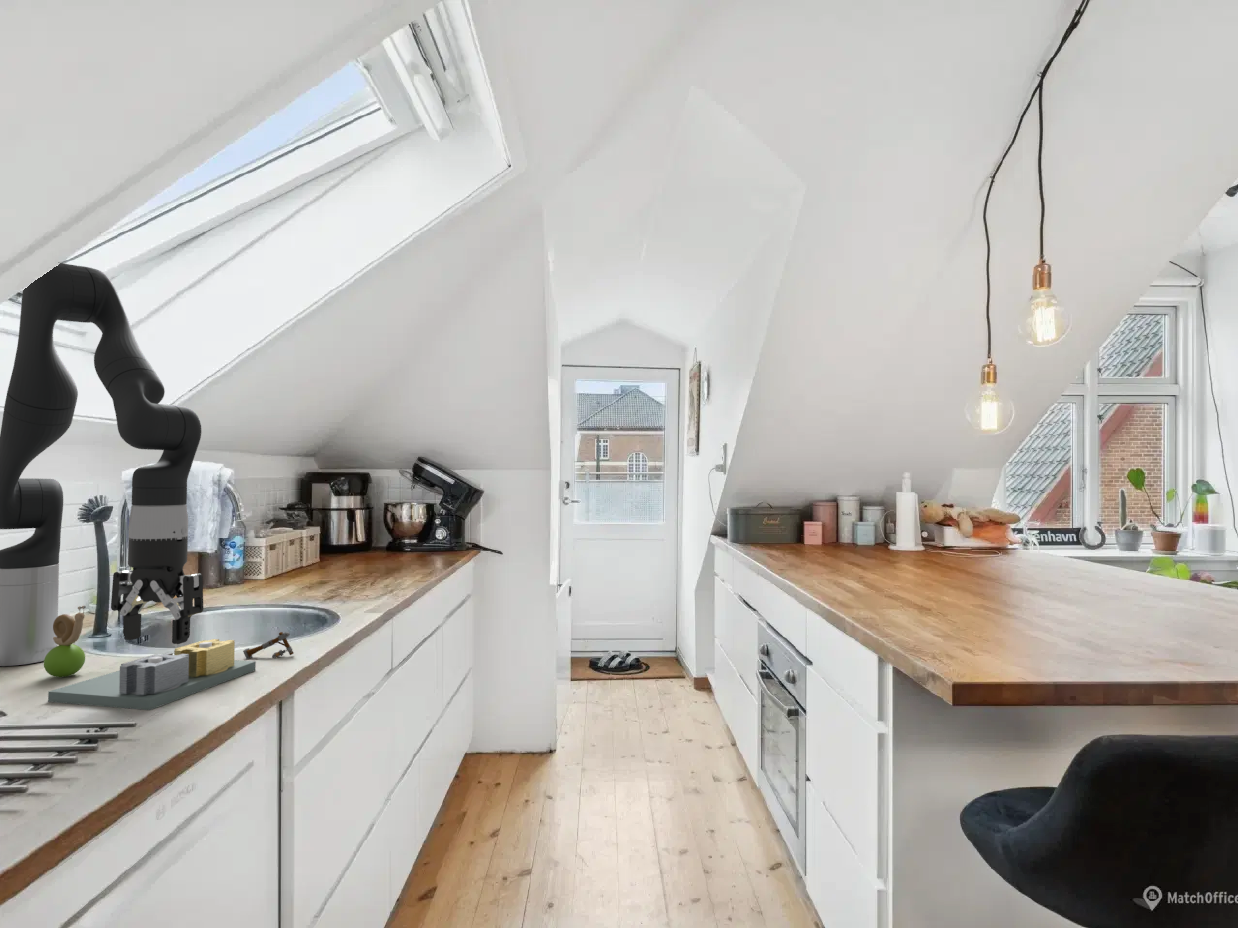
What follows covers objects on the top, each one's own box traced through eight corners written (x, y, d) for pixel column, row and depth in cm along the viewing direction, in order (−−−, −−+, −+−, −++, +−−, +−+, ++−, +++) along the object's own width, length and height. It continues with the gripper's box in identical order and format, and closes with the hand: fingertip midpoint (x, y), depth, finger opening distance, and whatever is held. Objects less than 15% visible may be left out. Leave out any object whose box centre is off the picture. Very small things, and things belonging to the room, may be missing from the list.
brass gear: (169, 675, 109) (169, 650, 109) (208, 662, 117) (208, 638, 117) (201, 677, 108) (201, 651, 108) (238, 663, 116) (239, 640, 116)
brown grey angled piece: (296, 652, 127) (286, 630, 127) (252, 672, 126) (242, 649, 126) (299, 650, 129) (289, 627, 129) (256, 669, 128) (246, 647, 127)
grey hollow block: (114, 693, 100) (114, 665, 100) (161, 677, 108) (161, 652, 108) (148, 695, 99) (149, 668, 99) (193, 680, 107) (193, 654, 107)
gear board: (48, 701, 101) (49, 661, 102) (167, 664, 122) (168, 630, 122) (149, 709, 98) (150, 667, 98) (255, 670, 118) (255, 635, 119)
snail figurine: (64, 682, 111) (66, 608, 111) (34, 680, 112) (36, 607, 113) (97, 673, 116) (99, 603, 116) (68, 671, 118) (70, 601, 118)
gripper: (96, 535, 102) (94, 644, 101) (178, 538, 99) (175, 650, 99) (141, 531, 109) (138, 632, 109) (218, 534, 106) (215, 638, 106)
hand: (156, 640), depth 104 cm, fingers open, 8 cm apart
